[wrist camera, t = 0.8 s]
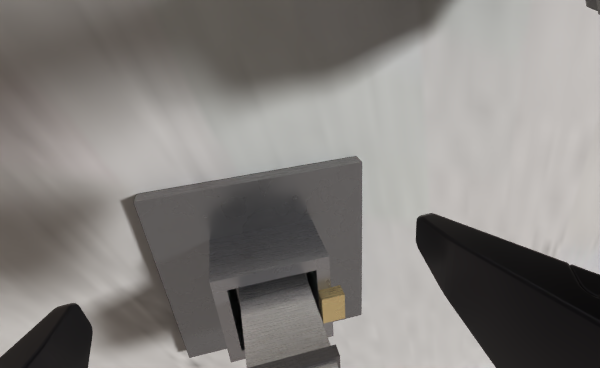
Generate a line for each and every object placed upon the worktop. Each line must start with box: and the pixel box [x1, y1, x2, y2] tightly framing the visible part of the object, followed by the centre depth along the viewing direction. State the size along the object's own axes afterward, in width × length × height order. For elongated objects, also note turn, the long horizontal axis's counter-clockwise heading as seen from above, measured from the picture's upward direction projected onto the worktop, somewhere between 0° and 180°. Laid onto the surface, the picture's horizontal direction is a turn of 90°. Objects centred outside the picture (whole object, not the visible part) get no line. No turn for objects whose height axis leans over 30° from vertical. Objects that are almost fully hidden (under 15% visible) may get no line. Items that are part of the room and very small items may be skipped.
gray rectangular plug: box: [236, 273, 340, 368], centre depth 20 cm, size 4×4×10 cm
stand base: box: [134, 156, 362, 362], centre depth 23 cm, size 14×14×6 cm
